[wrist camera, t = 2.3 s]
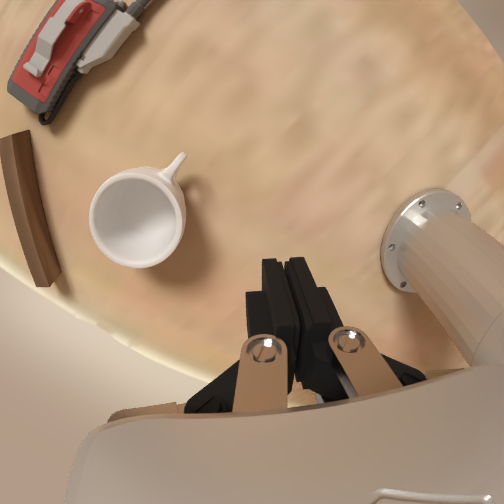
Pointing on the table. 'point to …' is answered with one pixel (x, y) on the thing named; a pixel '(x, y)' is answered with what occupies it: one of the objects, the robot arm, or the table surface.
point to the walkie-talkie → (70, 50)
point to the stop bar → (28, 207)
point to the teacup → (139, 215)
